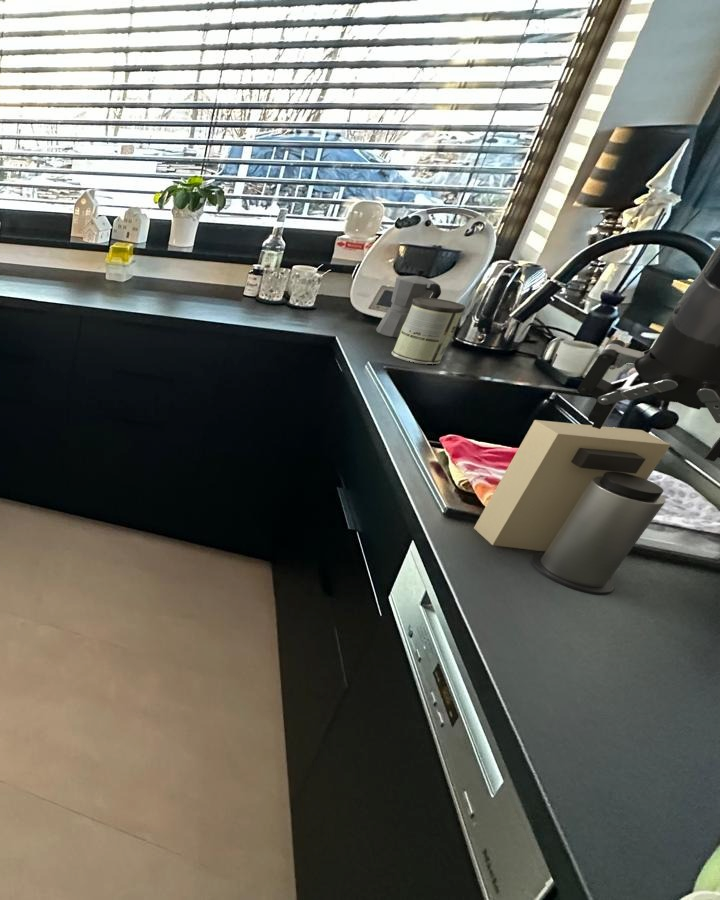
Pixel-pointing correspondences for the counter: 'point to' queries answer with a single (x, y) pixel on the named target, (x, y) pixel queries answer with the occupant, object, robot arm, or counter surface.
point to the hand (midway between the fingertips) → (652, 438)
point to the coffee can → (427, 330)
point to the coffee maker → (560, 483)
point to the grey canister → (603, 528)
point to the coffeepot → (406, 301)
